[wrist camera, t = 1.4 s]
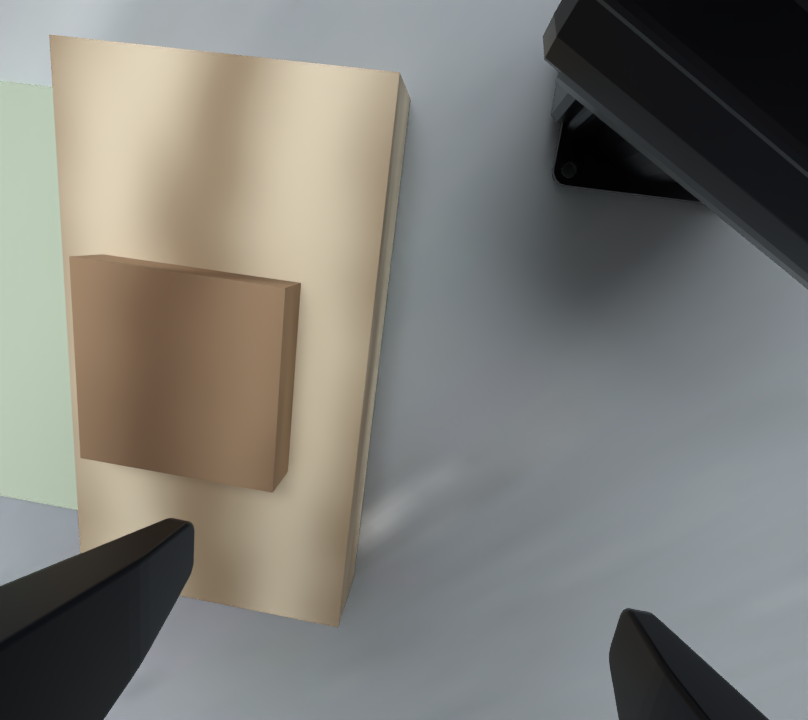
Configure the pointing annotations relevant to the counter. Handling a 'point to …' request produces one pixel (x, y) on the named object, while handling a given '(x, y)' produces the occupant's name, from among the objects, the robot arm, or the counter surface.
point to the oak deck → (249, 255)
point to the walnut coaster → (184, 369)
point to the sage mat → (33, 306)
